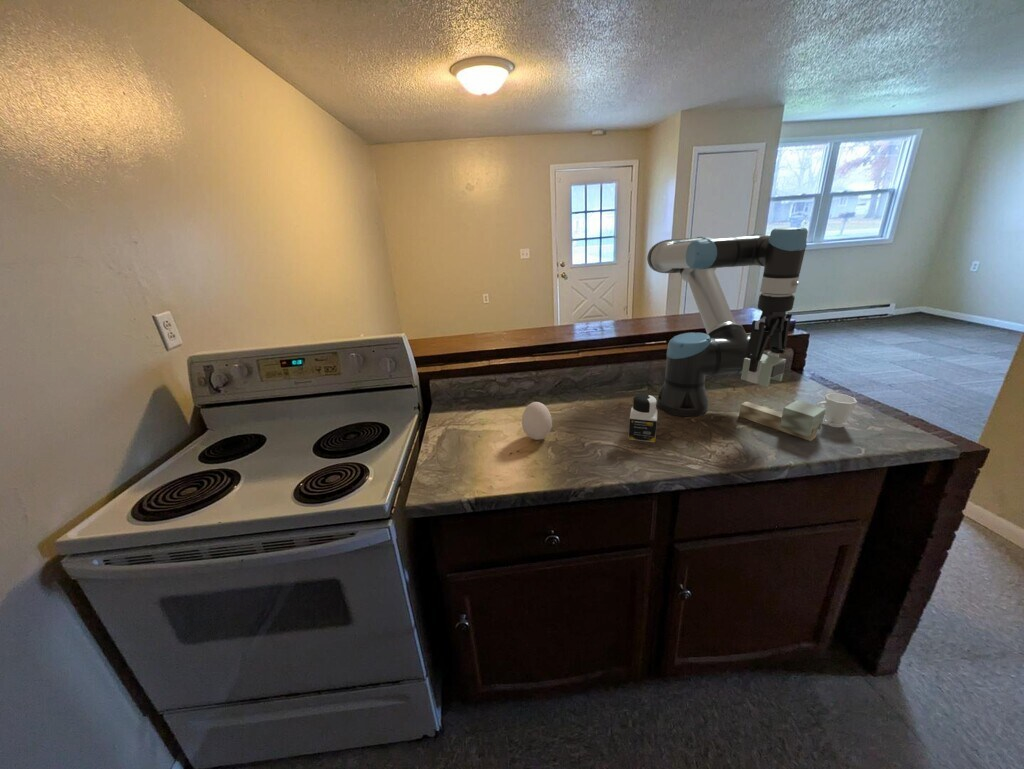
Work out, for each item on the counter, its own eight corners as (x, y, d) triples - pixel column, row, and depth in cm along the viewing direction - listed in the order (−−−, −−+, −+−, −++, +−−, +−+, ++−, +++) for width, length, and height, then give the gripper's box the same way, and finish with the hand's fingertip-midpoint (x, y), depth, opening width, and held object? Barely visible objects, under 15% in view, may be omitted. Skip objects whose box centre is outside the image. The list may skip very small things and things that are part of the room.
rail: (735, 418, 119) (739, 393, 116) (747, 411, 122) (752, 387, 119) (807, 443, 104) (814, 416, 101) (818, 435, 107) (826, 408, 104)
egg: (518, 443, 113) (516, 407, 109) (528, 429, 121) (526, 395, 116) (547, 447, 110) (546, 411, 106) (555, 432, 118) (555, 397, 113)
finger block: (740, 379, 109) (744, 358, 107) (755, 373, 112) (759, 353, 110) (768, 387, 103) (772, 365, 101) (783, 380, 106) (787, 359, 104)
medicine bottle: (628, 439, 112) (630, 401, 107) (630, 427, 118) (632, 390, 113) (655, 443, 109) (658, 403, 104) (655, 430, 115) (659, 393, 111)
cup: (856, 429, 109) (864, 403, 106) (817, 430, 110) (824, 404, 106) (837, 417, 115) (845, 392, 112) (802, 418, 116) (808, 393, 113)
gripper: (769, 302, 92) (752, 392, 100) (815, 289, 100) (795, 374, 109) (738, 297, 98) (725, 383, 107) (783, 286, 106) (767, 366, 115)
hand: (760, 378), depth 108 cm, fingers closed on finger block, 7 cm apart
